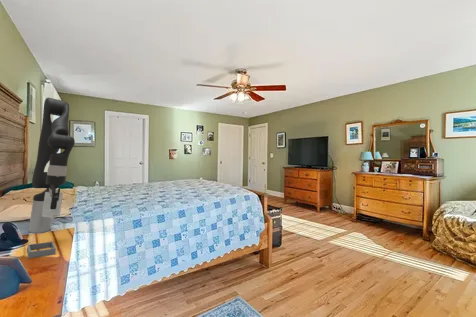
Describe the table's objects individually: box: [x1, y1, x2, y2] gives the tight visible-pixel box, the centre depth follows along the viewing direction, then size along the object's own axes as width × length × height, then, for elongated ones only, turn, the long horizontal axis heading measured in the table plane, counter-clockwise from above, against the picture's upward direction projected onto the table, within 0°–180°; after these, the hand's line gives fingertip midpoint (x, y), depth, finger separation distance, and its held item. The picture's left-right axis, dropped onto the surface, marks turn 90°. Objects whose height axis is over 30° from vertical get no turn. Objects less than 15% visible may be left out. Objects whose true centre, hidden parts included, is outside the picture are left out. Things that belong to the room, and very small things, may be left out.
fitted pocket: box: [26, 241, 57, 259], centre depth 101 cm, size 10×9×2 cm
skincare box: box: [42, 191, 64, 219], centre depth 111 cm, size 6×4×12 cm
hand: (52, 207), depth 111 cm, fingers closed on skincare box, 7 cm apart
